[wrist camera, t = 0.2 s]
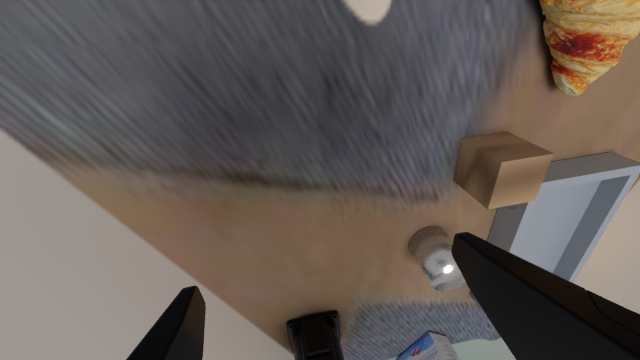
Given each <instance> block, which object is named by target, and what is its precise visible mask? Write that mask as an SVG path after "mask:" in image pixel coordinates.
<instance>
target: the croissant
mask: <svg viewBox="0 0 640 360" xmlns="http://www.w3.org/2000/svg"><path fill="white" fill-rule="evenodd" d="M539 1H540V4H541V8H542V11H543V13H542V14H544V15H546V20H545V21H544V23H543V29H544V34H545V40H546V43H547V44H548V45H549V47H550V52H551V55H552V56H553V57H554V59H553V62H552V64H551V69H552V73H553V78H554V81H555V84H556V86H557V87H558V88H559V89H560V90H561V92H564V93H566V94H568V95H570V96H577V95H579V94H581V93H582V92H583V91H584V90H585V89H586V86H587V84H590V83H591V82H593V81H594V80H596V79H598V78H599V77H600V76H601V75H603V74H604V73H605V72H607V71H608V70H609V69H610V67H612V66H615V65H616V64H617V63H618V62H619V61H620V60H621V53H622V51H623V48H624V46H625V45H626V44H627V43H628V42H629V41H630V40H632V39H634V38H635V37H636V36H637V35H638V33H639V32H640V0H539Z"/></svg>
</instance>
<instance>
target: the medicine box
mask: <svg viewBox="0 0 640 360" xmlns="http://www.w3.org/2000/svg"><path fill="white" fill-rule="evenodd" d="M396 360H460V359H459V357H458V355H457V354H456V352H455V350H454V349H453V347H452V345H451V343H450V342H449V340H448V338H447V337H446V336H443V335H439V334H436V333H432V332H427V333H425V334H424V335H423V336H422V337H421V338H420V339H418V340H417V341H416V342H415V343H414V344H413V345H412V346H410V347H409V348H408V349H407V350H406V351H405V352H403V353H402V354H401V355H400V356H399V357H397V358H396Z"/></svg>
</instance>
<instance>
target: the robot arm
mask: <svg viewBox="0 0 640 360" xmlns="http://www.w3.org/2000/svg"><path fill="white" fill-rule="evenodd" d="M451 253H452V256H453V259H454V260H455V262H456V264H457V266H458V268H459V270H460V272H461V273H462V275H463V277H464V279H465V281H466V283H467V285H468V286H469V288H470V290H471V292H472V294H473V295H474V297H475V298H476V300H477V302H478V303H479V305H480V306H481V307H482V309H483V310H484V312H485V313H486V315H487V316H488V318H489V319H490V321H491V322H492V324H493V325H494V327H495V328H496V330H497V331H498V333H499V334H500V336H501V337H502V339H503V340H504V342H505V343H506V344H507V346H508V348H509V349H510V351H511V352H512V354H513V355H514V356H515V358H516V360H640V314H638V313H636V312H633V311H631V310H629V309H626V308H624V307H622V306H620V305H618V304H616V303H613V302H611V301H609V300H607V299H605V298H603V297H601V296H599V295H597V294H595V293H592V292H590V291H588V290H585V289H584V288H582V287H580V286H578V285H576V284H574V283H572V282H570V281H568V280H566V279H563V278H561V277H559V276H557V275H555V274H553V273H551V272H549V271H547V270H545V269H543V268H541V267H539V266H537V265H535V264H532V263H530V262H528V261H526V260H524V259H522V258H520V257H518V256H516V255H514V254H512V253H510V252H508V251H506V250H504V249H501V248H499V247H497V246H495V245H493V244H491V243H489V242H487V241H485V240H483V239H481V238H479V237H477V236H475V235H473V234H470V233H468V232H463V233H458V234H456V235H455V236H454V240H453V244H452V249H451ZM205 309H206V308H205V301H204V299H203V297H202V295H201V292H200V290H199V288H198V287H197V286H191V287H186V288H183V289H182V290H181V291H180V293H179V294H178V295H177V296H176V298H175V299H174V300H173V301H172V303H171V304H170V305H169V307H168V308H167V309H166V310H165V311H164V313H163V314H162V315H161V316H160V318H159V319H158V320H157V322H156V323H155V324H154V325H153V327H152V328H151V329H150V330H149V332H148V333H147V334H146V335H145V337H144V338H143V339H142V341H141V342H140V343H139V344H138V346H137V347H136V348H135V349H134V351H133V352H132V353H131V354H130V356H129V357H128V358H127V359H126V360H202V357H203V343H204V326H205ZM286 326H287V331H288V335H289V340H290V344H291V348H292V352H293V353H294V357H295V360H344V357H343V353H342V349H341V345H340V325H339V314H338V312H337V311H334V312H329V313H324V314H320V315H315V316H311V317H306V318H302V319H297V320H292V321H289V322H287V323H286Z"/></svg>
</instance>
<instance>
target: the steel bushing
mask: <svg viewBox="0 0 640 360" xmlns="http://www.w3.org/2000/svg"><path fill="white" fill-rule="evenodd" d="M452 244H453V240H452V239H451V238H450V237H449V236H448V235H447V233H446V232H445V231H444V230H443V229H442V228H441V227H438V226H428V227H425V228H423V229H421V230H419V231H418V232H416V233H415V234H414V235H413V236H412V238H411V239H410V241H409V246H408V247H409V250H410V252H411V254H412V255H413V257H414V258H415V260H416V261H417V263H418V264H419V266H420V268H421V269H422V271H423V272H424V274H425V275H426V277H427V279H428V280H429V282H430V283H431V285H432V286H433V288H434V289H436V290H438V291H450V290H453V289H456V288H458V287H460V286H461V285H463V284H464V283H465V282H466V281H465V279H464V277H463V275H462V273H461V272H460V270H459V268H458V266H457V264H456V262H455V260H454V259H453V256H452V253H451V249H452Z"/></svg>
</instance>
